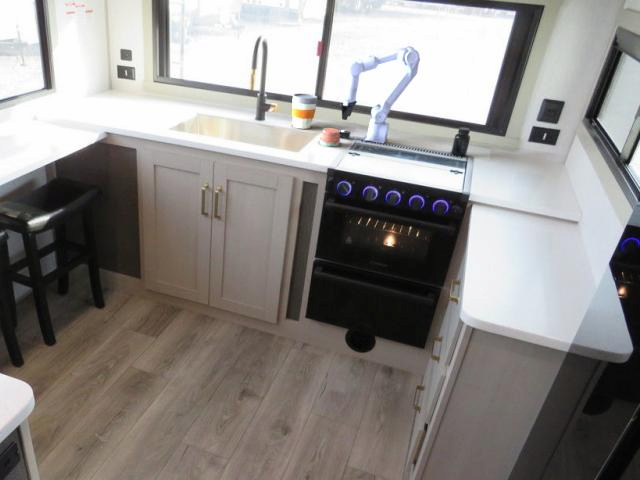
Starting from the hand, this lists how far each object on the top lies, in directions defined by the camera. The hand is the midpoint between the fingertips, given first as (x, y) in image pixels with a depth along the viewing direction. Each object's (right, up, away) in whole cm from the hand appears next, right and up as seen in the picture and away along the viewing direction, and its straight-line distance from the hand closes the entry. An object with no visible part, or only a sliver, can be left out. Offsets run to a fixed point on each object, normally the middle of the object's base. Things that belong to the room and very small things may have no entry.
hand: (346, 117), depth 277 cm
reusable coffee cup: (-20, +1, +18) cm, 26 cm away
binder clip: (0, -8, +5) cm, 10 cm away
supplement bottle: (+51, -20, -7) cm, 55 cm away
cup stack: (-9, -14, -4) cm, 17 cm away
